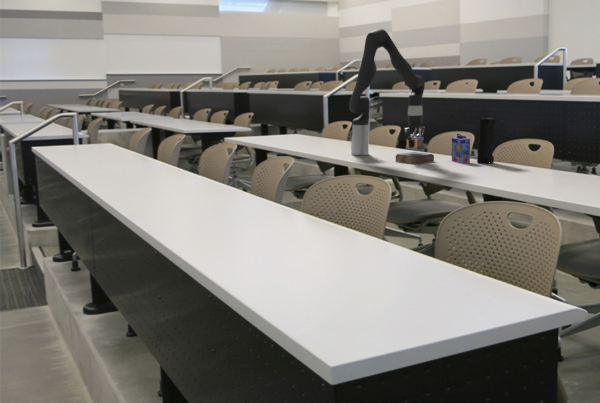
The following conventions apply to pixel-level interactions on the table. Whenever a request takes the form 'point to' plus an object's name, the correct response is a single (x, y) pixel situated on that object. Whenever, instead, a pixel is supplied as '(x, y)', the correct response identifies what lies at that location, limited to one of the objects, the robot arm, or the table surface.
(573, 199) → the table surface
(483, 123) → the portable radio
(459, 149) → the ink cartridge box
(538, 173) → the table surface
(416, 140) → the housing
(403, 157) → the walnut stand
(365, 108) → the robot arm
